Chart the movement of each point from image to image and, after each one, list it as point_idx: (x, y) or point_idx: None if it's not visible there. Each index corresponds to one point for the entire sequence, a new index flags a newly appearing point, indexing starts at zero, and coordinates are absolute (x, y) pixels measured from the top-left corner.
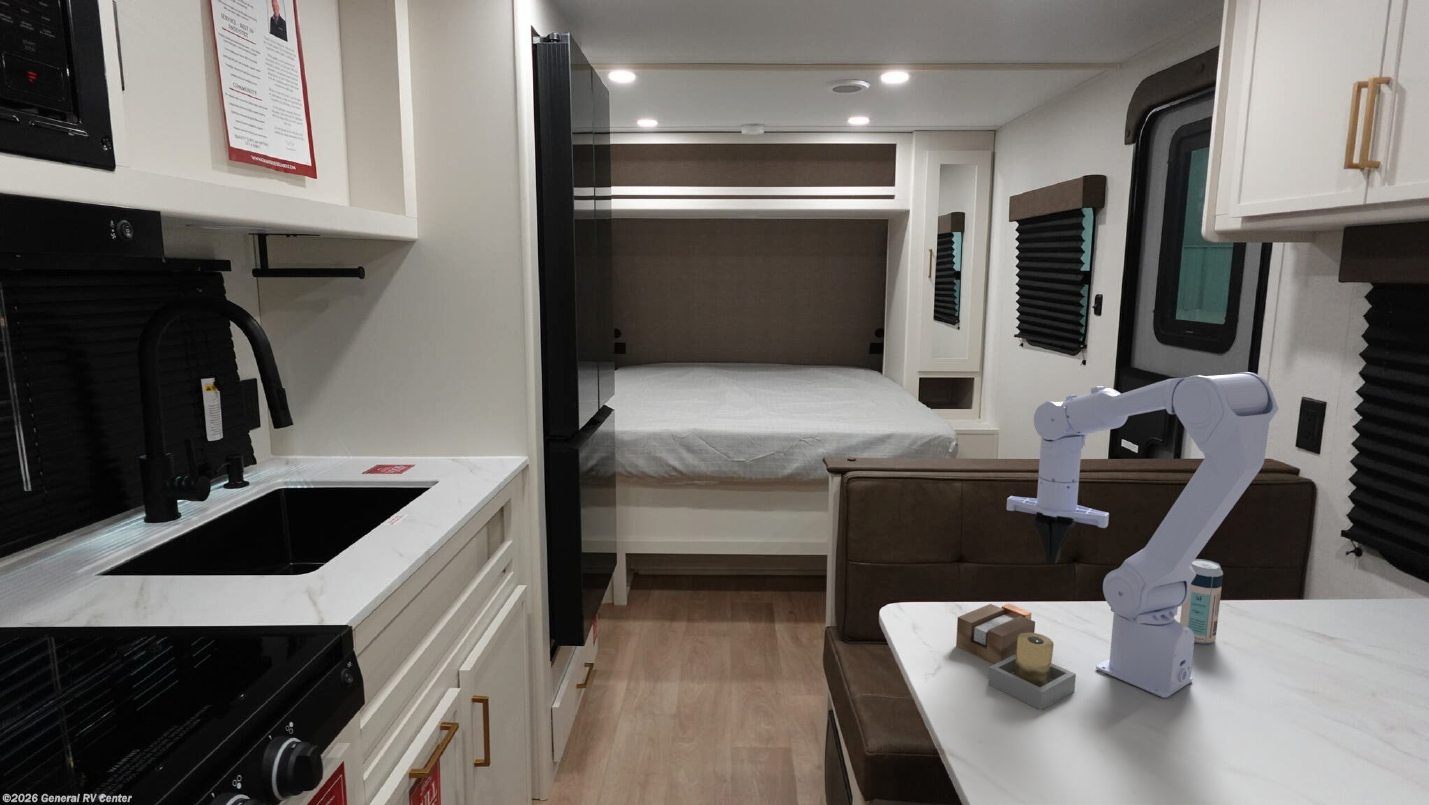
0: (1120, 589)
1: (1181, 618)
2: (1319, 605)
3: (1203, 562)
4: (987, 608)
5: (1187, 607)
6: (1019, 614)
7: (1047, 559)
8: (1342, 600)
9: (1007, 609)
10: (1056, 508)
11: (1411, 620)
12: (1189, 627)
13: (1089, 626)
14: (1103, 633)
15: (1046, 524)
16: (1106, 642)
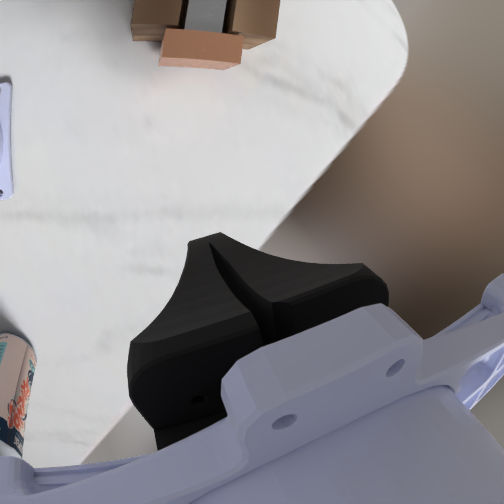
0: None
1: (21, 361)
2: None
3: None
4: (265, 6)
5: (2, 375)
6: (184, 29)
7: (219, 235)
8: None
9: (224, 34)
10: (291, 482)
11: None
12: (2, 347)
13: (119, 251)
14: (85, 245)
15: (293, 297)
16: (58, 214)
